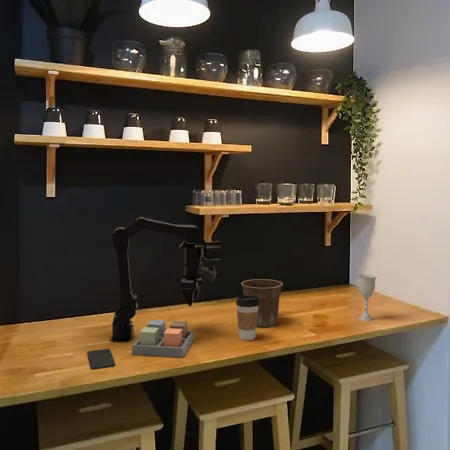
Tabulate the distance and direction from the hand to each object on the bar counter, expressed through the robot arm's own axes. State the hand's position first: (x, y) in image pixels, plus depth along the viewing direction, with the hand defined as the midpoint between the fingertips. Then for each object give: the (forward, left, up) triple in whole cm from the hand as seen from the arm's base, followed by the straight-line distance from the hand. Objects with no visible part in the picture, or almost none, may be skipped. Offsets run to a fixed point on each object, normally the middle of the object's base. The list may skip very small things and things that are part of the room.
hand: (192, 302), depth 167 cm
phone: (-24, -27, -13) cm, 38 cm away
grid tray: (-7, -13, -12) cm, 19 cm away
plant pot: (+24, +18, -12) cm, 32 cm away
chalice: (+66, +29, -12) cm, 73 cm away
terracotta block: (-3, -17, -11) cm, 21 cm away
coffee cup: (+20, 0, -12) cm, 23 cm away
